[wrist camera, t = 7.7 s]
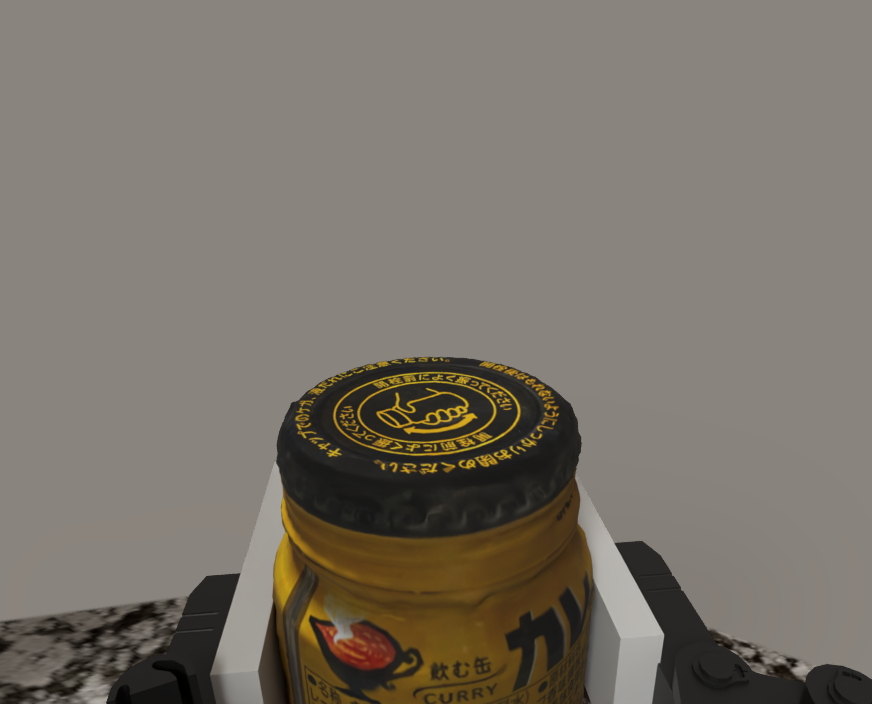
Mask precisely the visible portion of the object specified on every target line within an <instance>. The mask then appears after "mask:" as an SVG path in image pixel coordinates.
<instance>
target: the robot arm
mask: <svg viewBox="0 0 872 704" xmlns="http://www.w3.org/2000/svg"><path fill="white" fill-rule="evenodd" d="M575 480H576V482H577V485H578V489H579V493H580V508H579V514H578V524H579V525H580V527H581V528H582V529H583V531H584V532H585V535H586V539H587V545H588V548H589V551H590V554H591V559H592V568H593V588H594V598H593V605H592V608H591V617H590V634H589V649H588V652H587V662H586V672H585V684H584V685H585V688H586V690H587V693H588V696H589V699H590V702H591V704H872V679H870V678H868V677H867V676H865V675H864V674H862V673H860V672H858V671H855V670H852V669H850V668H847V667H844V666H837V665H830V664H826V665H821V666H817V667H814V668H813V669H812V670H811V671H810V672H809V673H808V674H807V677H806V681H805V683H803V682H798V681H792V680H787V679H782V678H776V677H771V676H767V675H763V674H760V673H756V672H754V671H752V670H751V669H750V667H749V665H747V664H746V663H745V662H744V661H743V660H742V659H741V658H740V657H739V656H738V655H737V654H735V653H733V652H731V651H730V650H728V649H726V648H724V647H722V646H719V645H717V643H716V642H715V640H714V639H713V637H712V636H711V634H710V633H709V631H708V629H707V628H706V626H705V625H704V623H703V621H702V620H701V618H700V617H699V615H698V614H697V612H696V610H695V609H694V608H693V606H692V604H691V603H690V601H689V600H688V598H687V596H686V595H685V593H684V592H683V591H681V587H680V585H679V584H678V582H677V581H676V579H675V577H674V576H672V573H671V571H670V570H669V568H668V566H667V565H666V563H665V562H664V560H663V559H662V557H661V555H659V554H658V553H657V552H655V551H654V550H653V549H652V548H650V547H649V546H648V545H646V544H645V543H644V542H643V541H635V542H622V543H614V542H613V540H612V538H611V536H610V534H609V533H608V531H607V529H606V527H605V525H604V524H603V522H602V520H601V518H600V516H599V514H598V512H597V511H596V509H595V507H594V505H593V503H592V501H591V500H590V498H589V496H588V494H587V492H586V491H585V489H584V487H583V485H582V483H581V481H580V479H579V478H578V476H577V474H575ZM282 498H283V486H282V483H281V475H280V473H279V468H278V466H277V464H276V461H275V462H274V465H273V469H272V472H271V475H270V478H269V482H268V485H267V488H266V492H265V495H264V498H263V501H262V505H261V508H260V511H259V515H258V518H257V521H256V525H255V528H254V531H253V534H252V538H251V541H250V544H249V548H248V551H247V554H246V558H245V561H244V564H243V567H242V571H241V573H239V574H226V575H213V576H206V577H205V578H204V580H203V581H202V582H201V583H200V584H199V585H198V586H197V587H196V588H195V589H194V591H193V592H192V593H191V594H190V596H189V598H188V601H187V603H186V606H185V608H184V611H183V613H182V618H180V621H179V623H178V626H177V629H176V634H175V635H174V636H173V639H172V641H171V644H170V646H169V649H168V651H167V654H164V655H158V656H153V657H150V658H148V659H146V660H144V661H141V662H139V663H137V664H135V665H134V666H133V667H131V668H130V669H129V670H127V671H126V672H125V673H124V674H122V675H121V676H120V678H119V679H118V680H117V682H116V683H115V684H114V685H113V687H112V688H111V690H110V693H109V696H108V699H107V702H106V703H107V704H288V699H287V685H286V680H285V674H284V669H283V666H282V664H281V658H280V649H279V645H278V643H279V641H278V635H277V628H276V611H275V603H274V601H273V598H272V593H273V580H274V579H273V567H274V562H275V556H276V552H277V550H278V547H279V545H280V542H281V540H282V538H283V535H284V533H285V532H286V531H285V529H284V527H283V524H282V517H281V503H282Z"/></svg>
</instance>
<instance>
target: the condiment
mask: <svg viewBox="0 0 872 704" xmlns="http://www.w3.org/2000/svg"><path fill="white" fill-rule="evenodd" d="M581 444H582V443H581V436H580V434H579V432H578V421H577V418H576V416H575V414H574V411H573V408H572V407H571V404H570V403H569V402H567V401H566V400H565V399H564V398H563V397H562V396H561V395H560V394H558V393H557V392H556V391H555V390H554V389H552V388H551V387H550V386H548V385H546V384H545V383H543V382H541V381H540V380H539V379H538V378H536V377H534V376H531V375H529V374H528V373H524V372H521V371H519V370H517V369H515V368H512V367H508V366H504V365H502V364H495V363H491V362H487V361H480V360H475V359H467V358H453V357H447V358H444V357H437V358H435V357H419V358H415V357H414V358H405V359H396V360H393V361H383V362H378V363H376V364H368V365H365V366H362V367H357V368H354V369H352V370H349V371H347V372H344V373H341V374H338V375H336V376H334V377H331V378H328V379H326V380H325V381H322V382H321V383H319V384H317V385H316V386H315V387H314V388H313V389H311V390H309V391H307V392H306V393H305V394H304V395H303V396H302V398H300V400H298V401H296V402H292V403H291V405H290V408H289V410H288V412H287V414H286V416H285V419H284V422H283V423H282V426H281V428H280V431H279V435H278V440H277V452H278V455H277V460H276V464H277V466H278V468H279V473H280V475H281V483H282V486H283V498H282V503H281V517H282V524H283V527H284V529H285V531H286V532H285V533H284V535H283V538H282V540H281V542H280V545H279V547H278V550H277V552H276V556H275V562H274V567H273V579H274V580H273V593H272V598H273V601H274V603H275V611H276V628H277V635H278V641H279V643H278V645H279V649H280V658H281V664H282V666H283V669H284V674H285V680H286V685H287V699H288V704H584V702H583V696H584V684H585V672H586V662H587V652H588V649H589V634H590V617H591V608H592V605H593V598H594V588H593V568H592V559H591V554H590V551H589V548H588V545H587V539H586V535H585V532H584V531H583V529H582V528H581V527H580V525H579V524H578V514H579V508H580V493H579V489H578V485H577V482H576V480H575V474H576V466H577V464H578V461H579V458H578V456H579V454H580V453H581Z"/></svg>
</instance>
